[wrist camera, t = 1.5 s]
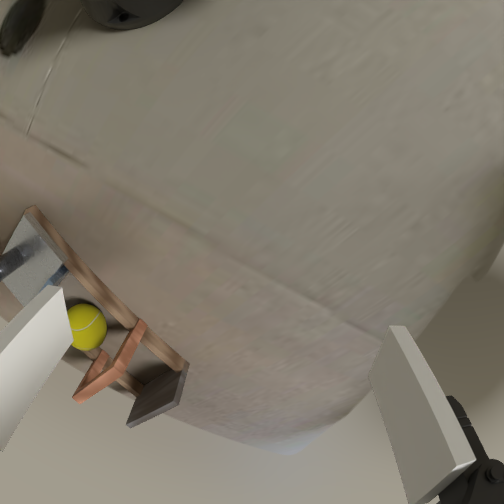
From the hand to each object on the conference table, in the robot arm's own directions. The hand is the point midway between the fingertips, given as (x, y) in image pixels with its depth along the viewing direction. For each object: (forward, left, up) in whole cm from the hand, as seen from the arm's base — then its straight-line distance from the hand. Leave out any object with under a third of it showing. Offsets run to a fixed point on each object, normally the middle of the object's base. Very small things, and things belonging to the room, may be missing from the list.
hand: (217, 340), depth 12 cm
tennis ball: (-1, -30, -28) cm, 42 cm away
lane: (-3, -30, -28) cm, 41 cm away
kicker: (-14, -30, -28) cm, 44 cm away
